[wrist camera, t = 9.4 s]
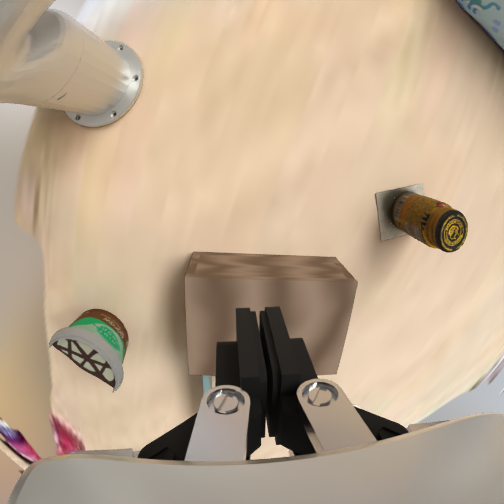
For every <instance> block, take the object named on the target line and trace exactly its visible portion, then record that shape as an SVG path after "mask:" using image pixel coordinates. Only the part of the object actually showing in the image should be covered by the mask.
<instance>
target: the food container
mask: <svg viewBox="0 0 504 504" xmlns="http://www.w3.org/2000/svg"><path fill="white" fill-rule="evenodd" d="M49 345H50V346H49V348H50V347H51V346H52V345H53V346H54V347H55V348H56V349H58V350H60V351H61V352H62V353H64V354H65V355H66V356H68V357H69V358H70V359H71V360H72V361H73V362H74V363H75V364H76V365H78V366H79V367H80V368H81V369H83V370H85V371H86V372H88V373H90V374H92V375H94V376H96V377H98V378H99V379H101V380H102V381H104V382H106V383H107V384H109V385H110V386H112V387H113V388H114V389H113V392H114V391H116V390H117V389H118V388H119V387H120V385H121V383H122V381H123V374H124V373H123V367H122V364H123V360H124V357H125V353H126V349H127V346H128V334H127V330H126V329H125V327H124V325H123V323H122V322H121V321H120V320H119V319H118V318H117V317H116V316H115V315H113V314H112V313H110V312H108V311H105V310H102V309H91V310H88V311H86V312H84V313H83V314H82V315H81V316H80V317H79V318H78V319H76V320H75V321H74V322H73V323H72V324H71V325H70V326H69V327H68V328H63V329H60V330H59V331H57V332H56V333H55V334H54V335H53V336H52V338H51V340H50V343H49Z"/></svg>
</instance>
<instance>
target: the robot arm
mask: <svg viewBox="0 0 504 504" xmlns="http://www.w3.org/2000/svg"><path fill="white" fill-rule="evenodd" d="M54 1H55V0H0V103H15V104H23V105H29V106H36V107H43V108H49V109H56V110H62V111H65V113H66V114H67V116H68V117H69V118H70V119H71V120H73V121H74V122H76V123H77V124H79V125H83V126H87V127H101V126H104V125H108V124H110V123H112V122H114V121H116V120H118V119H119V118H121V117H122V116H123V115H124V114H125V113H126V112H127V111H128V110H129V109H130V108H131V107H132V106H133V104H134V103H135V101H136V99H137V98H138V96H139V94H140V91H141V88H142V84H143V67H142V63H141V60H140V58H139V56H138V55H137V54H136V53H135V51H134V50H133V49H132V48H130V47H129V46H128V45H126V44H124V43H122V42H118V41H103V40H102V39H100V38H99V37H98V36H96V35H95V34H94V33H93V32H91V31H90V30H89V29H87V28H86V27H85V26H83V25H82V24H81V23H79V22H78V21H77V20H75V19H74V18H73V17H71V16H70V15H68V14H66V13H64V12H62V11H59V10H55V9H48V8H49V7H50V6H51V4H52V3H53V2H54ZM122 48H123V49H122ZM121 49H122V50H121ZM137 78H139V79H138V80H137V81H136V79H137ZM115 113H117V114H116V116H114V114H115ZM80 116H81V118H80ZM79 118H80V119H79ZM266 420H267V426H268V433H269V437H275V441H276V445H282V446H284V447H286V448H288V449H289V455H290V457H282V458H271V459H258V460H251V454H252V453H253V452H254V451H255V450H257V449H258V448H259V447H260V446H261V438H264V437H265V422H266ZM7 504H504V414H501V413H481V414H475V415H469V416H465V417H461V418H457V419H453V420H448V421H440V422H432V423H422V424H411V425H409V426H408V428H405V427H403V426H402V425H400V424H398V423H396V422H393V421H390V420H388V419H385V418H383V417H380V416H377V415H375V414H372V413H370V412H367V411H365V410H362V409H360V408H357V407H355V406H353V405H352V403H351V402H350V400H349V399H348V398H347V396H346V395H345V393H344V392H343V390H342V389H341V388H340V387H339V386H338V385H337V384H336V383H334V382H332V381H330V380H326V379H318V377H317V374H316V372H315V369H314V366H313V364H312V361H311V359H310V356H309V353H308V351H307V348H306V345H305V343H304V340H303V338H290V337H289V334H288V331H287V328H286V325H285V321H284V318H283V315H282V312H281V309H280V306H275V307H265V311H260V314H259V327H258V322H257V316H256V311H250V308H236V341H227V342H217V344H216V387H213V388H211V389H209V390H208V391H207V392H206V393H205V394H204V395H203V397H202V399H201V403H200V407H199V410H198V413H196V414H195V415H193V416H192V417H190V418H189V419H187V420H186V421H184V422H183V423H181V424H180V425H178V426H177V427H175V428H173V429H172V430H170V431H169V432H167V433H165V434H164V435H162V436H161V437H159V438H157V439H156V440H154V441H152V442H151V443H149V444H148V445H146V446H145V447H144V448H142V450H141V451H133V450H132V448H131V449H117V450H94V451H74V452H70V453H68V454H67V455H60V456H52V457H48V458H45V459H41V460H38V461H36V462H34V463H33V464H31V465H30V466H29V467H28V468H27V469H26V470H25V471H24V472H23V474H22V475H21V477H20V478H19V480H18V482H17V483H16V485H15V487H14V489H13V491H12V493H11V495H10V497H9V500H8V502H7Z"/></svg>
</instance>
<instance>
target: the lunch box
mask: <svg viewBox="0 0 504 504" xmlns="http://www.w3.org/2000/svg"><path fill="white" fill-rule="evenodd" d="M456 1H457V3H458V4H459V5H460V6H461V7H462V8H463V9H464V10H465V11H466V12H467V13H468V14H469V15H470V16H472V17H473V18H474V19H475V20H476V21H477V22H478V23H479V24H480V26H481V27H482V28H483V29H484V30H485V31H486V32H487V33H488V34H489V35H490V36H491V37H492V39H493V40H494V41H495V42H496V43H497V44H498V45H499V46H500V47H501V48H502V49H503V50H504V0H456Z"/></svg>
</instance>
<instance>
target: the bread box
mask: <svg viewBox="0 0 504 504" xmlns="http://www.w3.org/2000/svg"><path fill="white" fill-rule="evenodd" d="M357 283H358V282H357V281H356V279H355V278H354V277H353V276H352V275H351V274H350V273H349V272H348V271H347V269H346V268H345V267H344V266H343V265H342V264H341V263H340V262H339V261H338V259H337V258H336V257H317V256H290V255H264V254H239V253H213V252H193V255H192V258H191V261H190V263H189V266H188V269H187V272H186V275H185V308H186V333H187V353H188V369H189V375H206V376H216V344H217V342H227V341H236V308H250V311H256V316H257V322H258V327H259V314H260V311H265V307H275V306H280V309H281V312H282V315H283V318H284V321H285V325H286V328H287V331H288V334H289V337H290V338H303V340H304V343H305V345H306V348H307V351H308V353H309V356H310V359H311V361H312V364H313V366H314V369H315V372H316V374H317V375H331V374H337V370H338V367H339V363H340V359H341V355H342V351H343V347H344V343H345V339H346V335H347V330H348V326H349V322H350V317H351V313H352V308H353V303H354V298H355V293H356V288H357Z"/></svg>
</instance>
